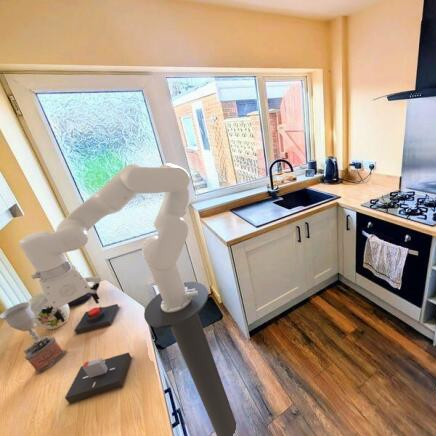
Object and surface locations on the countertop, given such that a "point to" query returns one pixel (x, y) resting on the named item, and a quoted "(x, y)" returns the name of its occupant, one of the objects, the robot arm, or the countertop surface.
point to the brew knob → (95, 368)
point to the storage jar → (80, 300)
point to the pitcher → (44, 318)
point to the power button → (94, 312)
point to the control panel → (100, 379)
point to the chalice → (21, 318)
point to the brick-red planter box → (43, 353)
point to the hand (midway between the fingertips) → (80, 310)
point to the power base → (97, 319)
